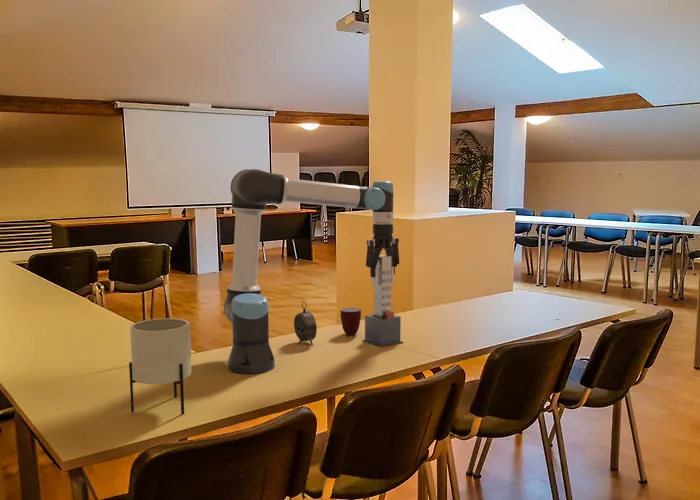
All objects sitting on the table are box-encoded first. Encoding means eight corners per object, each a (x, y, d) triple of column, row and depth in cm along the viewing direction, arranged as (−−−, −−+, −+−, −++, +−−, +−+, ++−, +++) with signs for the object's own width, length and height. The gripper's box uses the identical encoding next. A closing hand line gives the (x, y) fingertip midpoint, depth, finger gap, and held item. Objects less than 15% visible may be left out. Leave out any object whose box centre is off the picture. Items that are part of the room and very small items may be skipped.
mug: (359, 338, 236) (359, 313, 234) (338, 338, 236) (338, 313, 235) (361, 332, 246) (361, 307, 245) (341, 331, 247) (341, 307, 246)
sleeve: (380, 347, 223) (380, 314, 222) (362, 341, 232) (362, 309, 231) (403, 342, 230) (403, 310, 228) (384, 336, 239) (384, 305, 237)
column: (382, 321, 227) (382, 257, 224) (374, 319, 231) (374, 255, 228) (391, 319, 229) (392, 256, 226) (383, 317, 233) (383, 255, 230)
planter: (129, 402, 169) (125, 321, 167) (188, 394, 176) (185, 315, 173) (133, 422, 155) (129, 334, 153) (196, 413, 162) (193, 327, 159)
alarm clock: (317, 345, 226) (317, 302, 224) (304, 347, 223) (304, 304, 222) (304, 339, 236) (303, 297, 234) (291, 341, 233) (291, 299, 231)
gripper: (367, 225, 217) (367, 288, 220) (409, 222, 229) (409, 283, 231) (355, 224, 223) (355, 286, 226) (396, 221, 235) (396, 280, 237)
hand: (382, 284), depth 229 cm, fingers open, 7 cm apart
